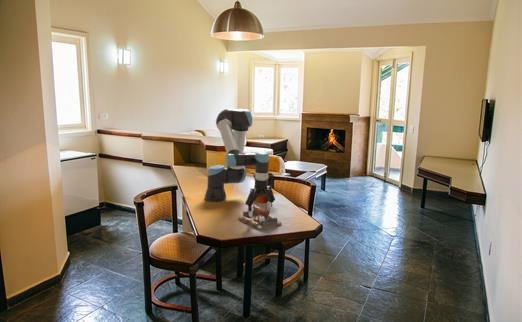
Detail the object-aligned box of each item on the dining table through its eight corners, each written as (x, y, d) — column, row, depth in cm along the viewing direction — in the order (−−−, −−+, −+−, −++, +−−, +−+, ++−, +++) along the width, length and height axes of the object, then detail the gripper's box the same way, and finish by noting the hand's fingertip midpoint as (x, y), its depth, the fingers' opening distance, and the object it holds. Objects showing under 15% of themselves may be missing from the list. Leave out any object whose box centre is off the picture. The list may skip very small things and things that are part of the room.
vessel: (248, 199, 256) (249, 171, 253) (265, 197, 263) (267, 171, 259) (257, 205, 244) (259, 176, 240) (275, 203, 250) (277, 175, 247)
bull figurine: (253, 215, 218) (254, 202, 217) (270, 221, 209) (271, 208, 208) (248, 217, 215) (249, 204, 213) (265, 223, 206) (266, 209, 205)
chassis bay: (238, 219, 216) (238, 212, 215) (259, 214, 225) (259, 207, 225) (259, 230, 199) (260, 222, 199) (281, 225, 209) (282, 217, 208)
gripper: (247, 183, 197) (246, 220, 201) (282, 178, 212) (280, 212, 216) (239, 180, 203) (238, 216, 207) (273, 175, 218) (272, 209, 222)
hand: (260, 214), depth 212 cm, fingers open, 13 cm apart
